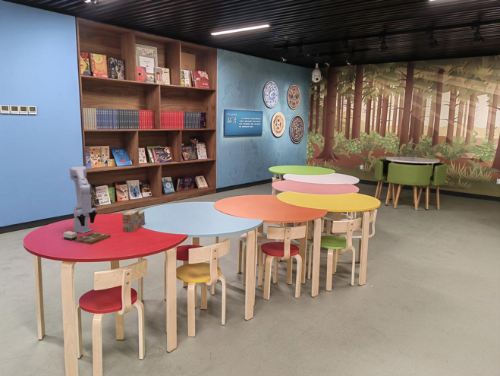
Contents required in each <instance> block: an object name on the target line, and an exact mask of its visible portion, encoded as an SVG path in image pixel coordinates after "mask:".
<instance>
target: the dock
mask: <svg viewBox="0 0 500 376" xmlns="http://www.w3.org/2000/svg"><path fill="white" fill-rule="evenodd" d="M109 238H111V234H108V233H102V232H90V233H89V234H86V235H83V236H80V237H77V238H76V239H73V240H74V242H78V243H83V244H89V245H94V244H96V243H99V242H101V241H104V240H107V239H109Z"/></svg>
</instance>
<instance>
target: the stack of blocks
mask: <svg viewBox="0 0 500 376" xmlns="http://www.w3.org/2000/svg"><path fill="white" fill-rule="evenodd" d="M145 216H146V215H145V211H141V210H140V211H139V210H136V209H130V210H128V211H126V212H125V213H123V214H122V230H123V232H124V233H125V232H128V233H132V232H134V231H136V230H137V229H138V228H140V227H142V226H143V225H145V224H144V223H146V220H145V218H146V217H145ZM141 225H142V226H141Z"/></svg>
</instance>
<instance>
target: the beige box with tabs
mask: <svg viewBox="0 0 500 376" xmlns="http://www.w3.org/2000/svg"><path fill="white" fill-rule="evenodd" d="M62 236H63V239H64V240H69V241H72V240H75V239H77V238H78V232H74V231H71V230H70V231H68V230H67V231H63V232H62Z"/></svg>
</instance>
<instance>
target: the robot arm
mask: <svg viewBox="0 0 500 376" xmlns="http://www.w3.org/2000/svg"><path fill="white" fill-rule="evenodd" d="M87 172H88V171H87V167H86V166H85V165H82V166H70V167H69V175H70V176H69V177H70V179H71V181H73V182H74V187H75V195H76V201H77V202H76V203H77V204H76V205H75V206H74V207H73V216H74V219H73V222H72V223H73V231H72V232H76V233H80V234H85V233H88V232H91V231H93V229H92V228H90V224H94V222H95V219H96V216H97V214H98V212H97V208H96V207H92V198H91V197H92V191H93V190H92V189H93V188H92V185H91V184H90V183H89V181H88V179H87V178H86V177H87ZM89 223H90V224H89Z"/></svg>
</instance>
